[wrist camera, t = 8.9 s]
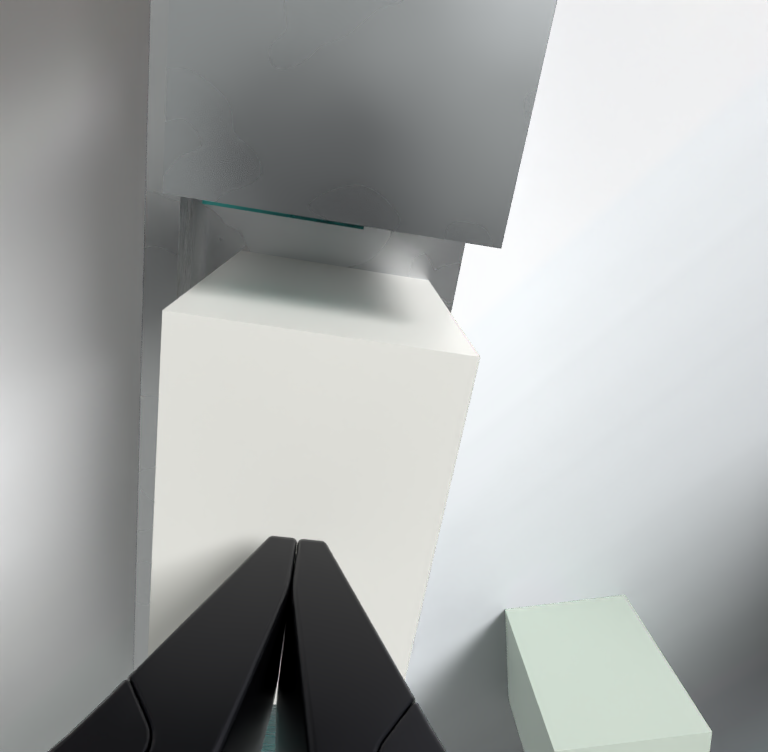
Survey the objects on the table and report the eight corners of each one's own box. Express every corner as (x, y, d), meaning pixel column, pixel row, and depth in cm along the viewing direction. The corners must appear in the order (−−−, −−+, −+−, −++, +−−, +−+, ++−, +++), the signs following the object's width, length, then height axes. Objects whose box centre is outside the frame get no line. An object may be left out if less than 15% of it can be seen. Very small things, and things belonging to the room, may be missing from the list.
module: (428, 280, 14) (479, 357, 8) (380, 529, 16) (395, 720, 11) (241, 250, 14) (161, 310, 8) (218, 511, 16) (145, 700, 10)
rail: (511, -37, 13) (686, -259, 6) (368, 679, 20) (376, 944, 13) (191, -106, 12) (-8, -442, 5) (157, 662, 19) (52, 934, 12)
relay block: (623, 593, 19) (712, 731, 15) (619, 684, 21) (698, 836, 16) (504, 608, 19) (554, 751, 15) (508, 698, 21) (554, 855, 16)
